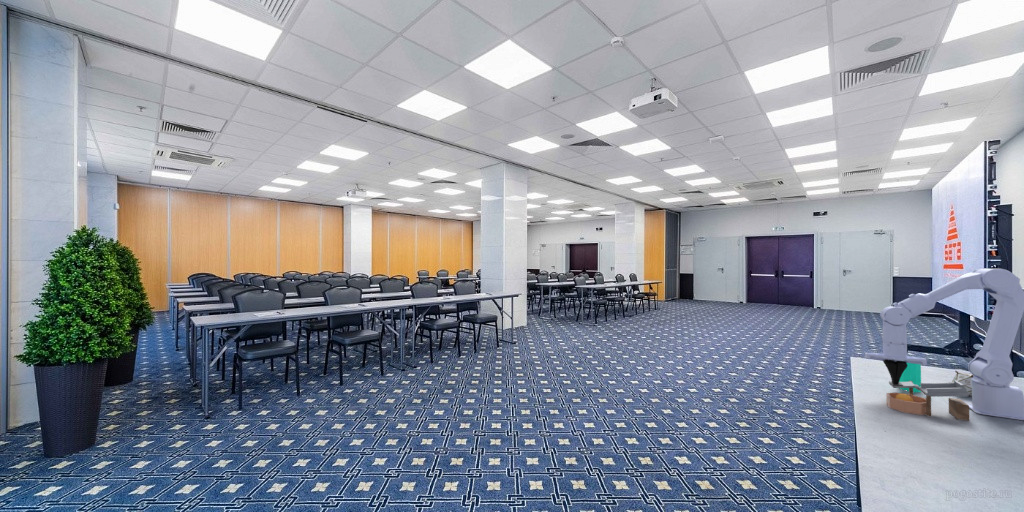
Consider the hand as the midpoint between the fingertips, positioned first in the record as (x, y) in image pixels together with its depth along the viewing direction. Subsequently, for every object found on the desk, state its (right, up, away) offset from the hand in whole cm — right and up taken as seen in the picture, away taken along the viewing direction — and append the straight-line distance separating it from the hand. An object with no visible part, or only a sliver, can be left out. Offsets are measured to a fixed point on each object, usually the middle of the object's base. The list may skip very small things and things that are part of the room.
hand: (895, 383), depth 127 cm
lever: (+2, 0, -7) cm, 8 cm away
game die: (+28, -6, +3) cm, 29 cm away
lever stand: (+4, -5, -9) cm, 11 cm away
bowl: (-4, -5, -8) cm, 10 cm away
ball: (-5, -3, -7) cm, 9 cm away
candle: (+15, -6, +10) cm, 19 cm away
